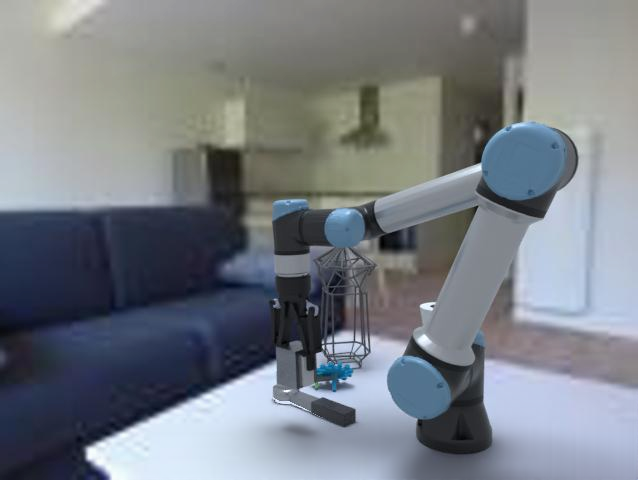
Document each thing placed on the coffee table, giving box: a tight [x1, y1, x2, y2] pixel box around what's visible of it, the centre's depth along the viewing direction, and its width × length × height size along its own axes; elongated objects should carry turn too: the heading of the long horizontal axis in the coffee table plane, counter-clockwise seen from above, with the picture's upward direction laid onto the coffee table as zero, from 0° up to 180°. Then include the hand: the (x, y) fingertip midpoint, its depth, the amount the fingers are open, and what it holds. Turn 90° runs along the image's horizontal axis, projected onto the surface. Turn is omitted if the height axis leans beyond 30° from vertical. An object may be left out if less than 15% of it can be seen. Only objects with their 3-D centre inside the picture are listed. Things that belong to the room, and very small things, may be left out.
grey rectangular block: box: [275, 340, 318, 390], centre depth 121 cm, size 6×6×8 cm
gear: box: [314, 361, 354, 392], centre depth 144 cm, size 11×6×10 cm
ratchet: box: [272, 370, 357, 428], centre depth 132 cm, size 24×6×7 cm, turn 45°
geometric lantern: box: [312, 247, 378, 370], centre depth 160 cm, size 16×16×35 cm
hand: (297, 381), depth 121 cm, fingers closed on grey rectangular block, 6 cm apart
